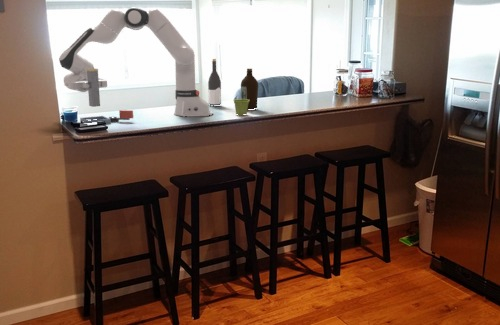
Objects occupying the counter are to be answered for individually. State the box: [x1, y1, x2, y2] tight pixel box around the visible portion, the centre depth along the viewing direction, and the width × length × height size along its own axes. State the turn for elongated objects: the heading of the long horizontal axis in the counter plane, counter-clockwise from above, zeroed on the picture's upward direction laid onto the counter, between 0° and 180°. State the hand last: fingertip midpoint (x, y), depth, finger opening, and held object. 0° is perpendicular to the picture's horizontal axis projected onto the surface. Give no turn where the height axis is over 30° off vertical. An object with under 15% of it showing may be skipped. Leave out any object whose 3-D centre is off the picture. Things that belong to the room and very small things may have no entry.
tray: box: [80, 115, 112, 125], centre depth 256 cm, size 12×12×2 cm
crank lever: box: [108, 109, 134, 121], centre depth 260 cm, size 13×4×5 cm, turn 86°
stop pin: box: [87, 67, 101, 108], centre depth 252 cm, size 4×4×19 cm
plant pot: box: [233, 98, 250, 116], centre depth 282 cm, size 9×9×9 cm
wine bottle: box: [207, 58, 222, 105], centre depth 316 cm, size 8×8×30 cm
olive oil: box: [240, 68, 259, 109], centre depth 300 cm, size 11×11×25 cm
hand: (94, 85), depth 251 cm, fingers closed on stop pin, 4 cm apart
